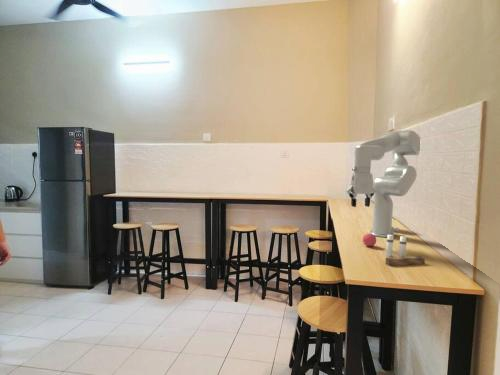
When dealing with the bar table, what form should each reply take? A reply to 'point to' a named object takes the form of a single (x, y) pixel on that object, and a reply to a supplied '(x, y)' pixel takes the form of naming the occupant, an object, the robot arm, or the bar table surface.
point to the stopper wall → (405, 260)
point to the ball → (369, 239)
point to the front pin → (389, 245)
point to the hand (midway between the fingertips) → (360, 206)
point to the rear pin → (402, 246)
